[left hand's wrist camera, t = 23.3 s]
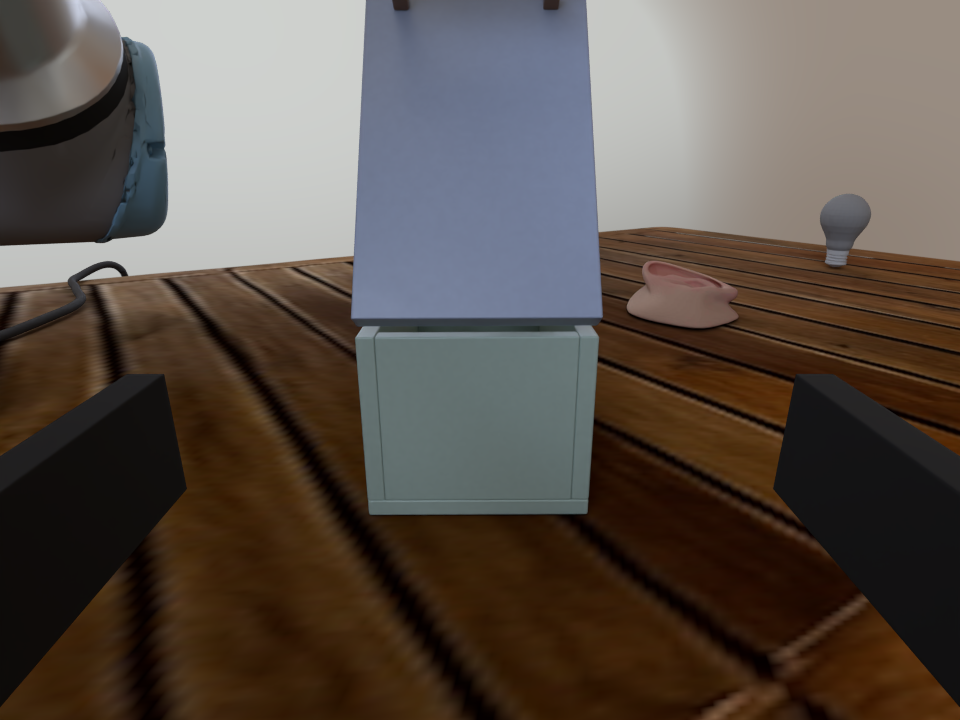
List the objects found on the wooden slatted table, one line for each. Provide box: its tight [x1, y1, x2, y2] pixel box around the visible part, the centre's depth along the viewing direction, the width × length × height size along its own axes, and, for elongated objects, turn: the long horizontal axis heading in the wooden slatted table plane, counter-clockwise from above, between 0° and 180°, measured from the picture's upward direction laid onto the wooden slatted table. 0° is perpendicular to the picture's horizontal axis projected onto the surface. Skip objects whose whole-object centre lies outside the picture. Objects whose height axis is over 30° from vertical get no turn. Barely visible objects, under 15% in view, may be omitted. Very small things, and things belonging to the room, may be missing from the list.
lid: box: [351, 0, 603, 327], centre depth 22 cm, size 18×10×9 cm
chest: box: [355, 325, 599, 515], centre depth 34 cm, size 17×10×9 cm, turn 0°
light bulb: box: [820, 194, 871, 267], centre depth 82 cm, size 6×6×10 cm
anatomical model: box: [627, 261, 738, 328], centre depth 60 cm, size 13×4×12 cm
